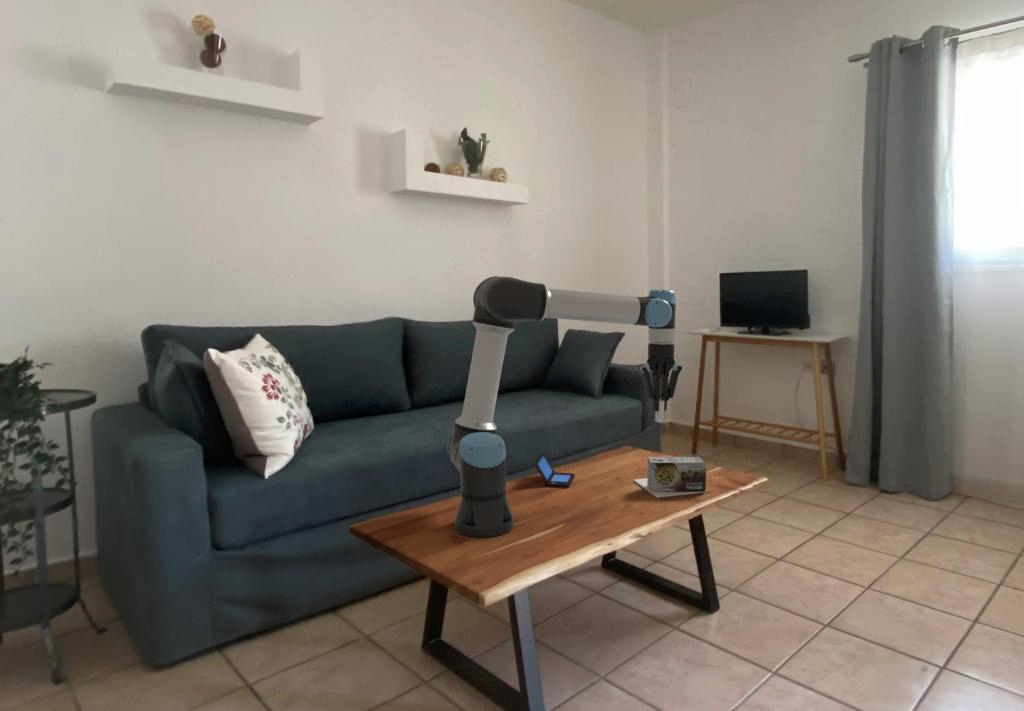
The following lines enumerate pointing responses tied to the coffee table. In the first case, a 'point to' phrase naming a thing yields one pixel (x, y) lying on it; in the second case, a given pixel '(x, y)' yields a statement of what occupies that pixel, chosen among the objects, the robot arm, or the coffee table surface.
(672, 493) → the felt mat
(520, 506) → the coffee table surface
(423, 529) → the coffee table surface
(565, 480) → the handheld game console
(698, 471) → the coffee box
